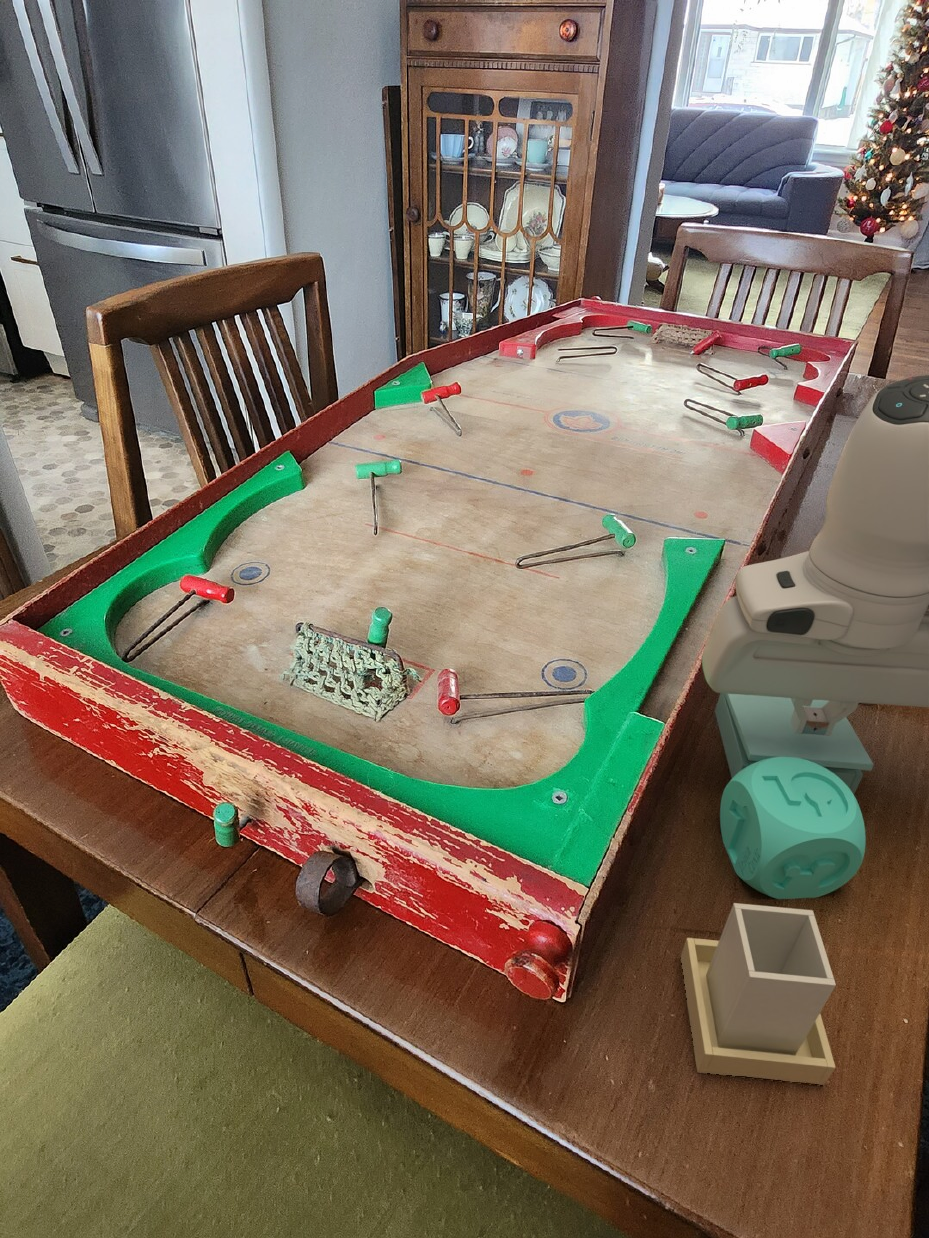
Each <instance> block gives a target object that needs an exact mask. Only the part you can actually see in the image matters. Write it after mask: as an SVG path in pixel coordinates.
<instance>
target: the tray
mask: <svg viewBox="0 0 929 1238" xmlns="http://www.w3.org/2000/svg"><path fill="white" fill-rule="evenodd" d="M718 943H719V940H715V939H714V940H713V939H705V938H694V937H686V939H685V942H684V945H683V948H682V952H681V953H680V957H681V959H680V964H681V963H682V965H681V970H682V969H683V972H682V976H683V975H684V979H683V985H684V984H685V986H684V991H685V990H686V993H685V999H686V998H687V1000H686V1006H687V1013H688V1019H689V1025H690V1026H691V1027H690V1026H689V1027H690V1031H691V1032H692V1034H691V1039H692V1038H693V1041H692V1046H694V1047H693V1055H694V1061H695V1067H696V1072H697V1073H699V1074H707V1073H710V1074H709V1075H716V1074H719V1075H718V1076H726V1075H732V1076H731V1077H735V1076H747V1077H759V1078H769V1079H776V1080H777V1079H780V1080H786V1081H788V1080H791V1081H797V1082H798V1081H801V1082H811V1083H819V1084H823V1085H824V1084H825V1085H826V1083H827V1082H828V1080H829V1079H830V1077H831V1076H832V1074H833V1072H834V1071H835V1069H836V1063H835V1060H834V1057H833V1053H832V1050H831V1046H830V1043H829V1039H828V1036H827V1031H826V1028H825V1025H824V1022H823V1018H822V1015H821V1013H820V1014H819V1016H818V1017H817V1019H816V1021H815V1023H814V1024H813V1026H812V1028H811V1030H810V1031H809V1033H808V1035H807V1037H806V1038H805V1040H804V1042H803V1043H802V1045H801V1047H800V1049H799V1050H798V1052H797V1054H796V1055H791V1054H781V1053H771V1052H762V1051H752V1050H743V1049H733V1048H723V1047H718V1042H717V1036H716V1031H715V1025H714V1019H713V1013H712V1007H711V1001H710V996H709V990H708V984H707V978H706V973H707V971H708V968H709V966H710V963H711V961H712V958H713V955H714V953H715V950H716V948H717V945H718ZM691 1032H690V1033H691ZM825 1085H824V1086H825Z"/></svg>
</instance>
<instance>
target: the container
mask: <svg viewBox="0 0 929 1238" xmlns="http://www.w3.org/2000/svg"><path fill="white" fill-rule="evenodd" d="M718 941H719V943H718V945H717V948H716V950H715V953H714V955H713V958H712V961H711V963H710V966H709V968H708V971H707V973H706V978H707V984H708V990H709V996H710V1001H711V1007H712V1013H713V1019H714V1025H715V1031H716V1036H717V1042H718V1047H723V1048H733V1049H743V1050H752V1051H762V1052H771V1053H781V1054H791V1055H796V1054H797V1052H798V1050H799V1049H800V1047H801V1045H802V1043H803V1042H804V1040H805V1038H806V1037H807V1035H808V1033H809V1031H810V1030H811V1028H812V1026H813V1024H814V1023H815V1021H816V1019H817V1017H818V1016H819V1014H821V1013H822V1011H823V1009H824V1007H825V1006H826V1004H827V1002H828V1000H829V998H830V996H831V995H832V993H833V991H834V990H835V988H836V986H837V984H836V981H835V977H834V974H833V971H832V968H831V964H830V960H829V957H828V955H827V952H826V948H825V945H824V942H823V939H822V935H821V932H820V929H819V926H818V923H817V920H816V916H815V913H814V910H812V909H803V908H792V907H782V906H781V907H780V906H769V905H759V904H750V903H737V902H733V904H732V906H731V909H730V912H729V915H728V917H727V920H726V922H725V925H724V927H723V930H722V932H721V935H720V938H719V940H718Z"/></svg>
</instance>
